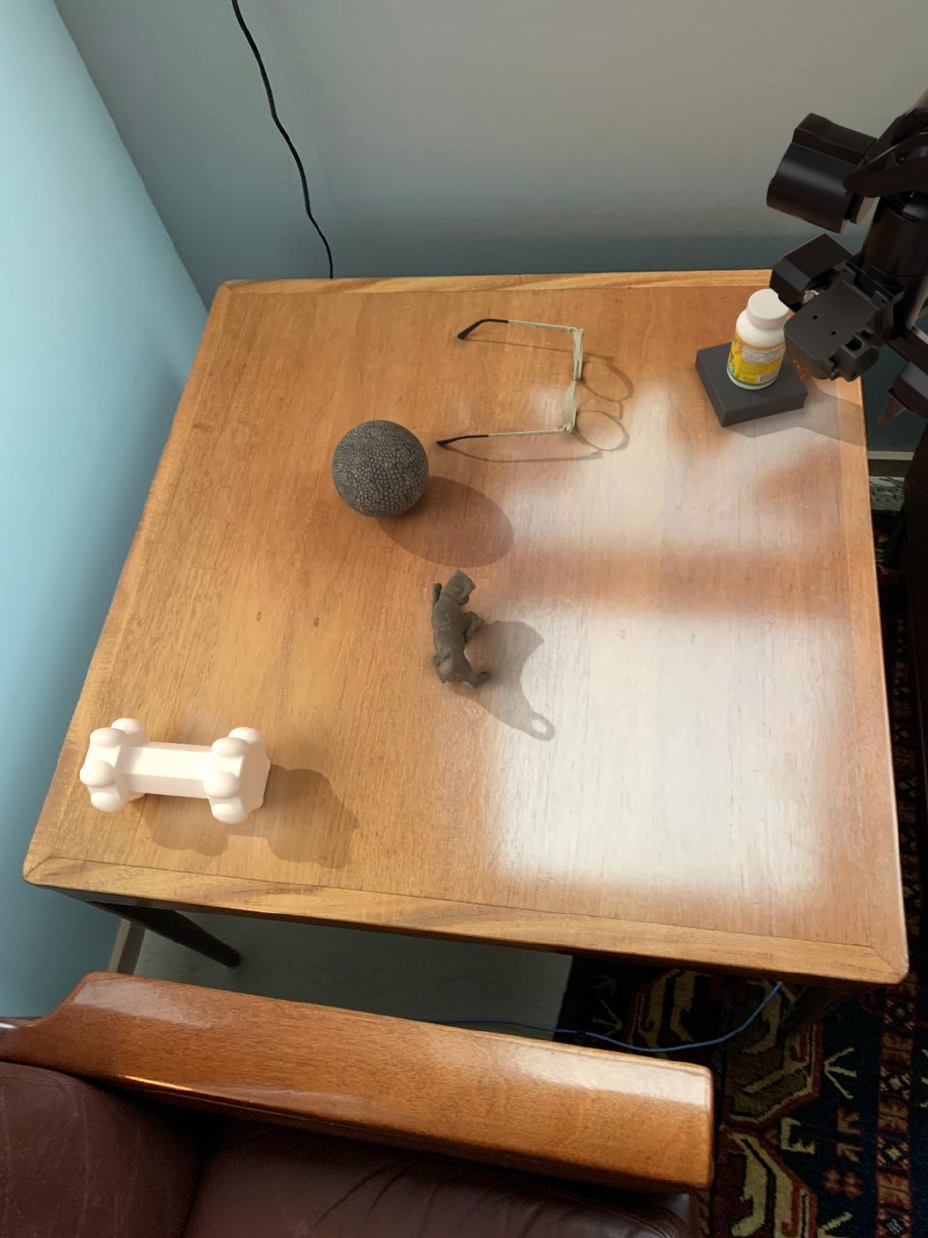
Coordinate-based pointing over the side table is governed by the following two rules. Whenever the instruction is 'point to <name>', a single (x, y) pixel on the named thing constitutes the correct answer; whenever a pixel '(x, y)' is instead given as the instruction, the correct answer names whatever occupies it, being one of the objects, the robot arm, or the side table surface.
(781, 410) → the block
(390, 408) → the side table surface
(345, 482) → the decorative ball
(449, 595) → the dog figurine
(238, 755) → the dog bone
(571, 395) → the eyeglasses
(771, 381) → the supplement bottle
